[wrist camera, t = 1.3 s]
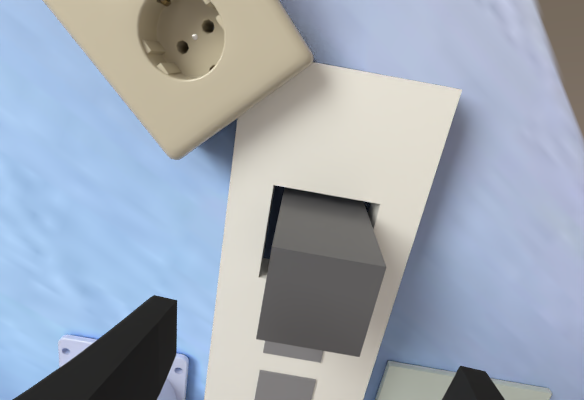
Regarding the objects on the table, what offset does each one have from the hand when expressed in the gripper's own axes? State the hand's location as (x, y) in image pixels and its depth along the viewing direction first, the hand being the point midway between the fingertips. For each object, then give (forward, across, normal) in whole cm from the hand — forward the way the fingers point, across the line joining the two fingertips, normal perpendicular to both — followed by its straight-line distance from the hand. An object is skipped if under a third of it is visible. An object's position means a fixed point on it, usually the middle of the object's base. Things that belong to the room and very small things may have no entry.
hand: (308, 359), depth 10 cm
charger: (+11, 0, +2) cm, 11 cm away
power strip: (+10, 0, +5) cm, 12 cm away
